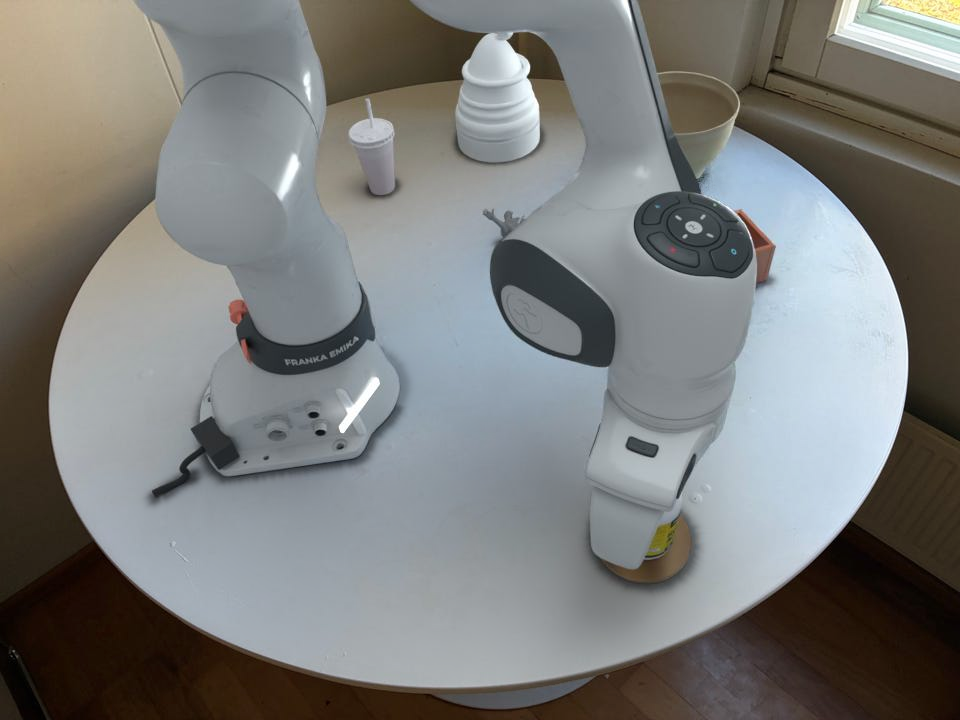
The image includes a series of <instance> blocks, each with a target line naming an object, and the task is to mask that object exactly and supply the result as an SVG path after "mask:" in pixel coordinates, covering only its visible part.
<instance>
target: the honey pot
mask: <svg viewBox="0 0 960 720" xmlns="http://www.w3.org/2000/svg"><path fill="white" fill-rule="evenodd" d="M513 35H514V33H486V35H484V36H483V37H482V38H481V39H480V40H479V42H478V43H477V44H476V45H475V48H474V50H473V52H472V54H471V56H470V58H469V59H467V60H466V61H465V63H464V64H463V66H462V68H461V75H462V78H463V82H462V84H461V86H460V87H459V95H458V100H457V104H456V105H455V110H454V116H455V126H456V127H455V129H456V138H457V145H458V148H459V149H460V151H461V152H462V153H463V154H464V155H465V156H467V157H468V158H470V159H473V160H476V161H479V162H485V163H504V162H511V161H515V160H517V159H521V158H523V157H525V156H527V155H529V154H530V153H532V152H533V151H534V150H535V149H536V148H537V146H539V145H538V144H540V138H541V137H540V136H541V130H540V129H541V128H540V124H541V122H540V105H539V102H538V99H537V98H536V95H535V92H534V90H533V85H532V83H531V80H530V79H528V75H529V74H530V71H531V64H530V61H529V60H528V59H527V58H526V57H525V56H524V55H522V54H520V53H517V52H516V51H515V50H514V48H513V47H512V46H511V44H510V43H509V41H507V40H509V39H511V38H512V36H513Z"/></svg>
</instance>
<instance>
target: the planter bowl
mask: <svg viewBox="0 0 960 720" xmlns="http://www.w3.org/2000/svg"><path fill="white" fill-rule="evenodd" d="M657 76H658V79H659V83H660V87H661V91H662V94H663V98H664V102H665V106H666V110H667V113H668V117H669V120H670V123H671V126H672V129H673V132H674V134H675V137H676V139H677V141H678V143H679V145H680V147H681V149H682V151H683V153H684V155H685V157H686V159H687V160H688V162H689V164H690V166H691V168H692V170H693V172H694V174H695V176H696V179H697V180H698V179H700V178H701V177H702V175H703V174H704V171H705V170H706V168H708V167H709V166H710V165H711V164H713V162H714V161H715V160H716V159H717V158H718V156H719V155H720V154H721V152H723V149H724V148H725V146H726V145H727V143H728V141H729V139H730V137H731V134H732V133H733V132H732V131H733V129H734V126H735V122H736V121H735V120H736V119H737V117H738V114H739V111H740V105H741V104H740V102H741V101H740V97H739V95H738V93H737V92H736V90H734V88H733V87H732V86H730V85H729V84H727V83H726V82H724V81H723V80H720V79H719V78H717V77H714V76H711V75H708V74H704V73H699V72H698V73H697V72H692V71H691V72H690V71H676V70H675V71H674V70H673V71H663V72H657Z"/></svg>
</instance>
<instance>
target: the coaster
mask: <svg viewBox="0 0 960 720" xmlns="http://www.w3.org/2000/svg"><path fill="white" fill-rule="evenodd" d="M691 549H692V535H691V531H690V529H689V526H688V523H687V522H686V520H685V519H684V517H683V516H682V514H680V516H679V520H678V524H677V528H676V532H675V536H674V539H673V543H672V545H671V547H670V549H669V550H668V551H667V552H666V553H665V554H664V555H663V556H661V557H659V558H656V559H651V560H643V562H642V564H641V565H640V566H639V567H638V568H637V569H627V568H624V567H621V566H618V565H615V564H613V563H611V562H608V561H606V560H604V559H602V558H600V557H599V559H600V560H601V562H602V563H603V565H605V567H607V568H608V570H610V571H611V572H612V573H613V574H615V575H617V576H618V577H620V578H622V579H623V580H626V581H629V582H632V583H637V584H657V583H661V582H664V581H667V580H669V579H671V578H672V577H674V576H675V575H677V574H678V573H679V572H681V570H682V569H683V568H684V566H685V565H686V563H687V562H688V559H689V558H690V554H691Z"/></svg>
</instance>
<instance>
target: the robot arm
mask: <svg viewBox="0 0 960 720" xmlns="http://www.w3.org/2000/svg"><path fill="white" fill-rule="evenodd" d="M133 2H134V4H135V6H136V7H137V8H138V9H139V11H140V12H141V13H142V14H144V16H146V17H147V18H148V19H150V20H151V21H153V22H154V23H156V24H157V25H159V26H160V28H161V30H162V31H163V33H164V35H165V36H166V38H167V40H168V41H169V43H170V45H171V47H172V49H173V50H174V52H175V54H176V57H177V59H178V61H179V64H180V67H181V73H182V81H183V82H182V83H183V89H182V90H183V93H182V100H181V105H180V108H179V110H178V112H177V114H176V117H175V118H174V121H173V123H172V125H171V128H170V129H169V132H167V136H166V138H165V140H164V141H163V143H162V146H161V149H160V151H159V156H158V164H157V171H156V172H157V173H156V182H155V198H154V206H155V212H156V215H157V219H158V220H159V223H160V225H161V226H162V228H163V230H164V231H165V233H166V235H168V237H170V238H171V240H172V241H173V242H174V243H175V244H176V245H178V246H179V247H180V248H181V249H183V250H184V251H186V252H187V253H189V254H191V255H192V256H194V257H196V258H198V259H200V260H203V261H205V262H207V263H211V264H214V265H219V266H224V267H225V266H226V267H227V269H228V270H229V272H230V274H231V276H232V277H233V279H234V282H235V284H236V287H237V288H238V290H239V293H240V296H241V297H242V298H241V299H234V300H232V301H231V302H230V303H229V305H228V312H229V314H230V315H229V320H230V322H231V323H233V324H235V325H236V327H235V334H236V338H237V341H236V342H235V343H234V344H232V345H231V347H229V348H228V349H227V350H226V351H224V353H222V354H221V355H220V356H218V358H217V359H216V361H215V362H214V364H213V367H212V371H211V374H210V383H209V385H208V387H207V388H206V390H205V392H204V395H203V397H202V400H201V404H200V410H199V423H198V424H196V425H193V426H192V427H191V428H190V431H191V433H192V434H193V436H194V437H195V439H196V441H197V443H198V444H199V446H200V447H198V448H197V449H196V450H195V451H193V452H191V453H190V454H189V455H188V456H187V457H185V458H184V459H183V461H182V462H181V463H180V465H179V469H178V470H179V473H180V474H181V475H180V476H179V477H178V478H176V479H174V480H172V481H170V482H167V483H166V484H163V485H161V486H158V487H156V488H153V489H152V490H151V493H152V494H153V496H154V497H157V496H158V495H161V494H163V493H166V492H168V491H171V490H173V489H176V488H177V487H179V486H181V485H183V484H184V483H185V482H186V481H187V480H188V479H189V478H190V476H191V471H190V469H189V468H188V467H189V466H190V464H191V463H193V462H194V461H195V460H197V459H198V458H200V457H201V456H202V455H203V454H206V457H207V459H208V461H209V463H210V464H211V466H212V467H213V468H214V469H215V470H216V471H217V472H218V473H219V474H220V475H222V476H223V477H235V476H242V475H250V474H257V473H263V472H270V471H277V470H283V469H291V468H297V467H304V466H305V467H306V466H311V465H318V464H324V463H325V464H326V463H331V462H338V461H339V462H340V461H344V460H345V461H346V460H351V459H356V458H357V457H360V455H362V453H363V452H365V451H364V450H365V449H366V447H367V445H368V443H369V441H370V438H371V436H372V435H373V433H374V432H375V431H376V429H378V427H380V426H381V425H382V424H383V423H384V422H385V421H386V420H387V419H388V417H389V416H390V415H391V413H392V412H393V410H394V409H395V407H396V405H397V402H398V399H399V395H400V387H401V385H400V378H399V375H398V372H397V370H396V368H395V367H394V365H393V364H392V363H391V362H390V360H389V359H388V358H387V356H386V355H385V353H384V351H383V350H382V347H381V345H380V344H379V341H378V339H377V337H376V324H375V323H376V322H375V318H374V314H373V311H372V307H371V303H370V300H369V297H368V295H367V292H366V291H365V289H364V286H363V285H362V283H361V282H360V281H359V280H358V274H357V272H356V267H355V263H354V259H353V256H352V253H351V247H350V246H349V245H350V244H349V241H348V237H347V234H346V232H345V229H344V228H343V226H342V225H341V224H340V222H338V221H337V220H336V219H335V218H333V216H331V215H329V214H327V212H326V211H325V209H324V207H323V204H322V202H321V199H320V195H319V191H318V184H317V183H318V182H317V159H318V151H319V146H320V142H321V136H322V132H323V127H324V123H325V118H326V113H327V92H326V84H325V77H324V71H323V67H322V63H321V60H320V57H319V55H318V53H317V52H316V50H315V46H314V42H313V40H312V36H311V33H310V30H309V27H308V25H307V21H306V18H305V14H304V11H303V10H302V9H303V8H302V6H301V2H300V0H133ZM409 2H411V4H412V5H414V6H415V7H416V8H418V9H419V10H420V11H421V12H423V13H424V14H425V15H428V17H430V18H432V19H434V20H435V21H438V22H440V23H442V24H444V25H446V26H449V27H451V28H455V29H457V30H462V31H465V32H471V33H479V34H481V33H482V34H490V33H496V34H498V33H513V34H514V33H531V34H534V35H535V36H537V37H539V38H540V39H542V40H543V41H544V42H545V43H546V44H547V45H548V47H549V48H550V50H551V51H552V52H553V54H554V56H555V57H556V60H557V62H558V65H559V68H560V71H561V73H562V76H563V79H564V82H565V85H566V88H567V91H568V93H569V96H570V99H571V102H572V104H573V109H574V110H575V113H576V116H577V119H578V122H579V124H580V128H581V130H582V133H583V136H584V139H585V147H584V148H585V150H584V153H583V157H582V159H581V163H580V165H579V167H578V169H577V171H576V173H575V174H574V176H573V177H572V178H571V179H570V180H569V181H568V182H566V184H564V185H563V186H562V187H561V188H560V189H559V190H557V191H556V192H555V193H554V194H553V195H552V196H551V197H550V198H548V199H547V200H546V201H545V202H544V203H543V204H541V205H539V206H538V207H537V208H536V209H534V210H533V211H532V212H530V214H529V215H527V217H525V218H523V219H524V220H523V221H522V222H521V223H520V224H519V225H518V226H517V227H515V228H514V229H513V230H512V231H511V232H510V233H509V234H508V235H507V236H506V237H505V238H504V239H503V240H502V239H501V240H502V241H501V242H500V243H499V242H498V243H497V245H495V246H494V248H493V250H492V252H491V256H490V261H489V279H490V285H491V291H492V293H493V294H492V295H493V297H494V301H495V303H496V305H497V308H498V310H499V313H500V314H501V317H502V319H503V320H504V323H505V324H506V326H507V327H508V329H509V330H510V331H511V332H512V333H513V334H514V335H515V336H516V337H517V338H518V339H519V340H521V341H522V342H524V343H525V344H527V345H528V346H530V347H532V348H534V349H535V350H537V351H539V352H541V353H544V354H546V355H548V356H551V357H554V358H557V359H561V360H566V361H569V362H572V363H577V364H580V365H584V366H589V367H594V368H607V377H606V389H605V390H604V393H603V402H602V403H603V405H602V414H601V419H600V423H599V425H598V427H597V431H596V433H595V438H594V440H593V443H592V446H591V449H590V452H589V455H588V460H587V462H586V464H585V472H584V473H585V474H584V477H585V482H586V483H587V484H589V485H591V486H593V487H592V492H591V498H590V504H589V505H590V506H589V533H590V534H589V535H590V547H591V550H592V552H593V553H594V555H595V556H597V557H599V559H600V558H602V559H604V560H606V561H608V562H611V563H613V564H615V565H618V566H621V567H624V568H627V569H637V568H638V567H639V566H640V565H641V564H642V562H643V560H644V558H645V556H646V554H647V551H648V549H649V547H650V544H651V542H652V540H653V537H654V535H655V533H656V530H657V528H658V526H659V523H660V521H661V519H662V517H663V515H664V513H665V511H666V512H670V511H672V510H673V508H674V506H675V504H676V501H677V499H679V497H680V495H681V493H682V494H683V490H684V488H685V486H686V484H687V482H688V480H689V478H690V476H691V474H692V473H693V471H694V469H695V468H696V466H697V464H698V463H699V462H700V460H701V459H702V458H704V455H706V453H707V451H708V450H709V448H710V447H711V445H712V444H713V443H715V442H716V440H717V439H718V438H719V436H720V435H721V433H722V431H723V429H724V426H725V424H726V419H727V415H728V411H729V409H730V402H731V398H732V394H733V391H734V388H735V383H736V377H737V376H736V375H737V369H736V361H737V360H738V358H739V357H740V355H741V353H742V351H743V350H744V347H745V344H746V341H747V337H748V333H749V329H750V324H751V319H752V315H753V308H754V303H755V296H756V287H757V283H756V276H757V261H756V253H755V248H754V245H753V241H752V238H751V235H750V233H749V231H748V229H747V227H746V225H745V224H744V222H743V221H742V220H741V218H740V217H739V216H738V215H737V214H736V213H735V212H734V211H735V210H733V209H731V208H730V207H729V206H728V205H726V204H724V203H723V202H721V201H720V200H718V199H715V198H713V197H711V196H708V195H705V194H703V193H702V189H701V187H700V184H699V181H698V179H696V176H695V174H694V172H693V170H692V168H691V166H690V164H689V162H688V160H687V159H686V157H685V155H684V153H683V151H682V149H681V147H680V145H679V143H678V141H677V139H676V137H675V134H674V132H673V129H672V126H671V123H670V120H669V117H668V113H667V110H666V106H665V102H664V98H663V94H662V91H661V87H660V83H659V79H658V76H657V73H658V72H657V69H656V65H655V62H654V61H655V60H654V57H653V54H652V49H651V46H650V41H649V38H648V35H647V31H646V27H645V23H644V20H643V19H644V18H643V16H642V11H641V8H640V5H639V1H638V0H409Z"/></svg>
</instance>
